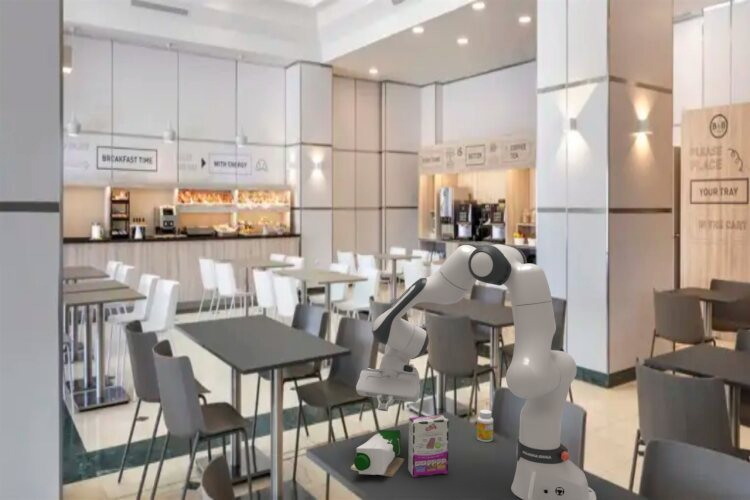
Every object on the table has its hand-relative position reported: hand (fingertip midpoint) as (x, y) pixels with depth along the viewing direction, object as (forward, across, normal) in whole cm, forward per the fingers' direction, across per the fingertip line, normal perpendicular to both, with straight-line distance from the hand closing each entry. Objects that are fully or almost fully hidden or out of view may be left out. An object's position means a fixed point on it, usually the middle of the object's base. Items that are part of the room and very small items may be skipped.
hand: (382, 409), depth 185 cm
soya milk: (+4, +2, +11) cm, 12 cm away
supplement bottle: (-10, +27, +33) cm, 44 cm away
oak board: (+14, 0, +9) cm, 16 cm away
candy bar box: (+13, +15, +10) cm, 23 cm away
